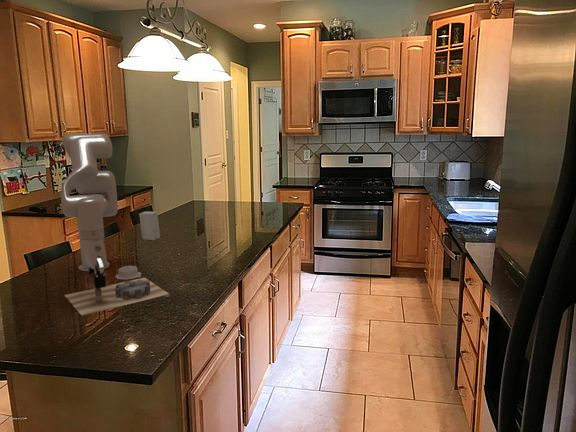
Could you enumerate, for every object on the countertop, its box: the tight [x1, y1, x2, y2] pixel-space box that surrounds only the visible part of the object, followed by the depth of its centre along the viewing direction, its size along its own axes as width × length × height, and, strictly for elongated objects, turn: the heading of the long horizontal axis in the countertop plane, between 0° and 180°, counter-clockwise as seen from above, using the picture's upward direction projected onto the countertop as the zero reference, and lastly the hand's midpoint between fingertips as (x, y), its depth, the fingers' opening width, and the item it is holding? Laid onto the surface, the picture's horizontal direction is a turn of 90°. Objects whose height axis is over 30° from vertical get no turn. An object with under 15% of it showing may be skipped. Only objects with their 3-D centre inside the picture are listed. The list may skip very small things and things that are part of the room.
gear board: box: [64, 277, 171, 319], centre depth 168 cm, size 24×30×6 cm
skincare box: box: [138, 210, 161, 241], centre depth 252 cm, size 8×6×15 cm
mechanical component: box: [115, 265, 142, 280], centre depth 189 cm, size 10×4×10 cm
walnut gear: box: [84, 271, 110, 289], centre depth 160 cm, size 7×7×4 cm
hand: (97, 284), depth 160 cm, fingers closed on walnut gear, 7 cm apart
